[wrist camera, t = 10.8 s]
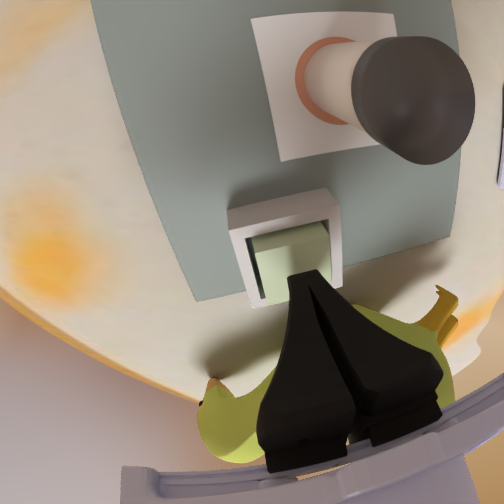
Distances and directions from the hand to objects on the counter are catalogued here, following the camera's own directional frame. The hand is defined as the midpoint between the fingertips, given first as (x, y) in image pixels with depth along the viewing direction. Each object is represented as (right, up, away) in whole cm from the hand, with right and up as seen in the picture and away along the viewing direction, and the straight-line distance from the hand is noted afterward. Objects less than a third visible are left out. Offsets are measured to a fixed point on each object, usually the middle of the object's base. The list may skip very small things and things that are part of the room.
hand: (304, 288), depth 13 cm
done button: (0, +2, +3) cm, 4 cm away
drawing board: (+1, +10, -1) cm, 10 cm away
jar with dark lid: (+2, +9, -2) cm, 10 cm away
